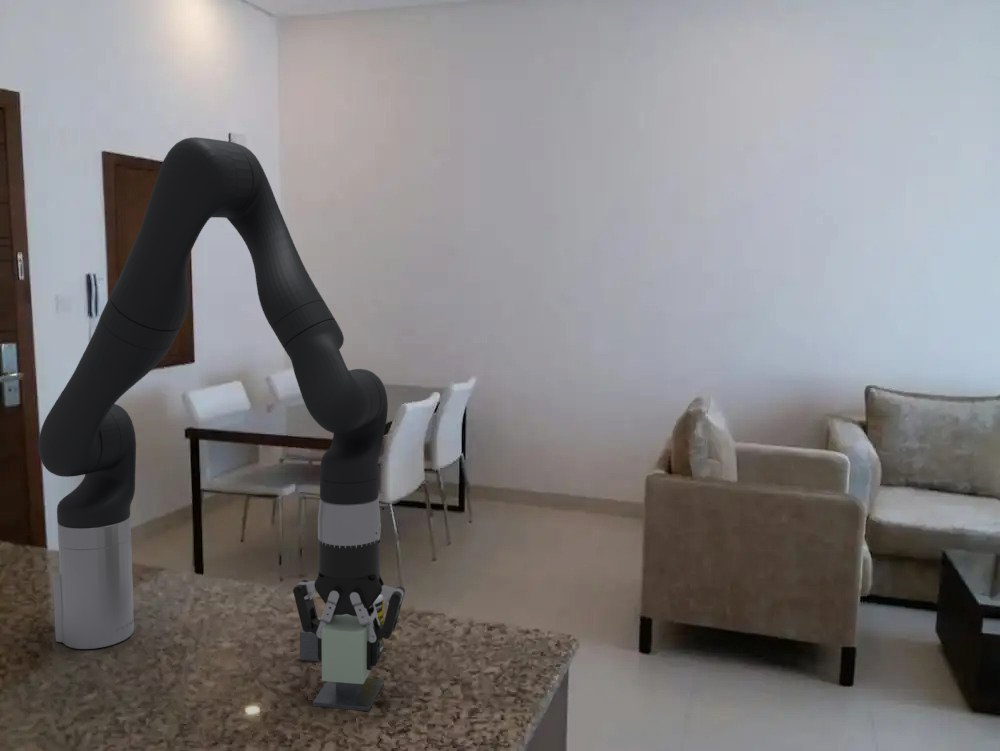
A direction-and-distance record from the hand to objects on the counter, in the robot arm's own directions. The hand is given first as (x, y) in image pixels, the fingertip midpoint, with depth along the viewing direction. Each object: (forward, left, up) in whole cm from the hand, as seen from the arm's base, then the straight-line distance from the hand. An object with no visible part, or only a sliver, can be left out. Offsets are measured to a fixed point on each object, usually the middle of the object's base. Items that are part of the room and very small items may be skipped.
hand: (349, 664), depth 104 cm
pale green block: (0, 0, -1) cm, 1 cm away
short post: (-8, +9, -4) cm, 13 cm away
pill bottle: (-2, +12, -4) cm, 13 cm away
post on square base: (0, 0, -4) cm, 4 cm away
